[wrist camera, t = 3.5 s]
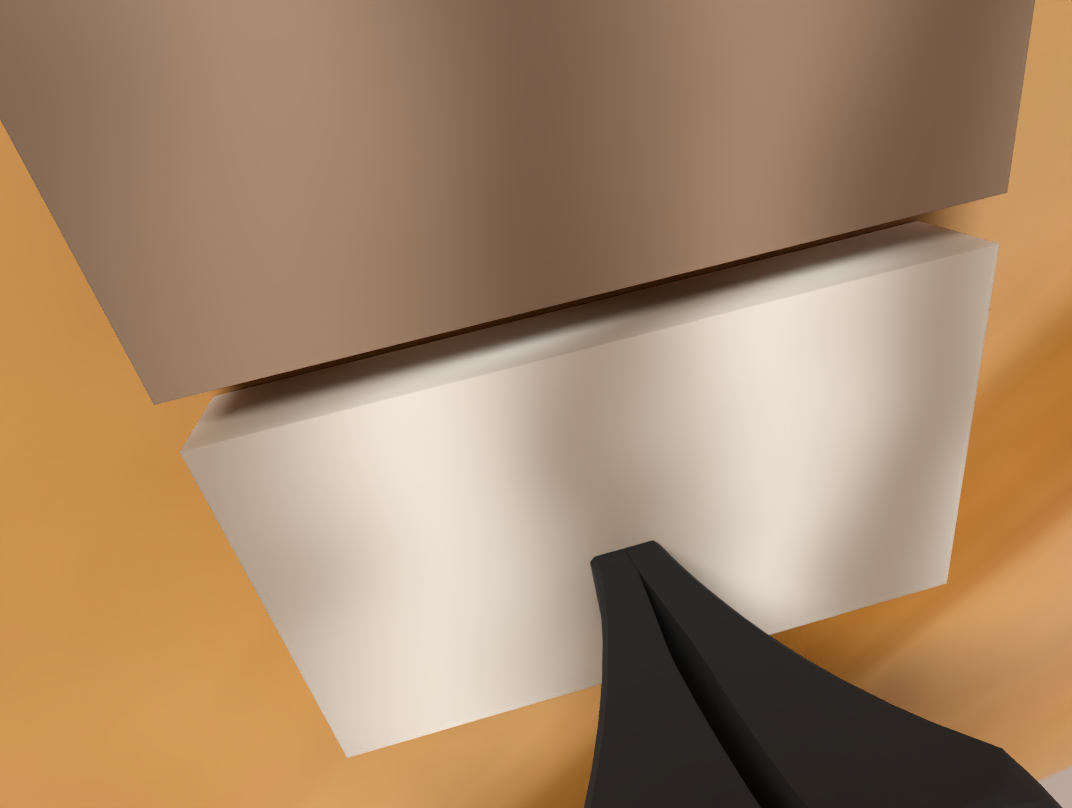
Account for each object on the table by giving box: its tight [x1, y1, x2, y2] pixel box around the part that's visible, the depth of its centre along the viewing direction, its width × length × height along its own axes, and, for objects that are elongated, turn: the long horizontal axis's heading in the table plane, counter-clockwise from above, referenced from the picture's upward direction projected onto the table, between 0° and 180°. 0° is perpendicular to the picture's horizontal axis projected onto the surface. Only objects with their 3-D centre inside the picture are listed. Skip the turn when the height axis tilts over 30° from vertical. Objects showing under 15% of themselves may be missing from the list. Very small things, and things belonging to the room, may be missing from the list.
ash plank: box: [180, 221, 999, 758], centre depth 13 cm, size 14×8×2 cm, turn 101°
